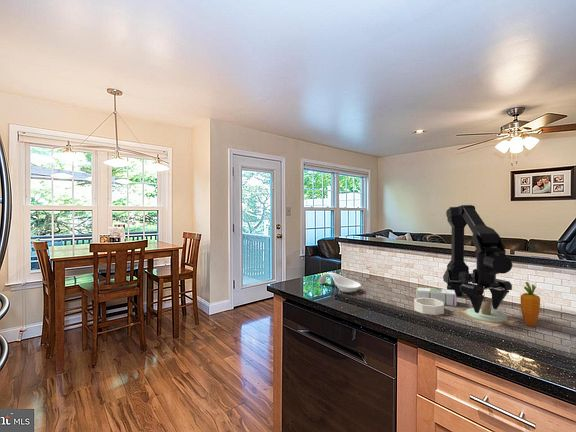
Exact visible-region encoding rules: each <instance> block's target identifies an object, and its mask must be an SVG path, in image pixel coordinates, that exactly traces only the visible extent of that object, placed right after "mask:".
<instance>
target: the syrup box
mask: <svg viewBox="0 0 576 432" xmlns="http://www.w3.org/2000/svg"><path fill="white" fill-rule="evenodd" d="M415 295H416V297H415V299H416V298H433V299H437V300H439V301H442V302H443V304H444V306H453V307H456V306H457V299H458V298H457V296H456V294H455V291H454V290H447V288H445V289H443V288H433V287H432V288H431V287H421V286H420V287H419V286H416V293H415Z"/></svg>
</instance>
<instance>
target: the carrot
mask: <svg viewBox="0 0 576 432" xmlns="http://www.w3.org/2000/svg"><path fill="white" fill-rule="evenodd" d="M525 285H526V286H523V288H524V290H525V291H526V292H524V293H522V294H521V295H520V311H521V315H522V318H523V321H524V323H525V325H526V326H528V327H530V328H533V327H534V326H535V324H536V323H537V321H538V319H539V315H540V312H541V309H540V308H541V298H540V296H539V295H537V294H535V290H536V288H537V286H536V285H535V284H530V283H529V282H528V281H526V282H525Z"/></svg>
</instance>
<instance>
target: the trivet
mask: <svg viewBox="0 0 576 432" xmlns="http://www.w3.org/2000/svg"><path fill="white" fill-rule="evenodd" d="M466 310H467V309H466ZM466 310H460V311H455V312H454V314H457V315H459V316H462V317H464V318H466V319H467V318H468V319H470V320H472V321H475V322H477V323H480V324H483V325H485V326H489V327H491V328H495V327H499V326H503V325H507V324H512V323H516V322H520V321H521V319H518V318H515V317H512V316H509V315H506V316H507V321H506V322H503V323H490V322H484V321H479V320H476V319H473V318H471V317H469V316H468V315H467V314H466Z"/></svg>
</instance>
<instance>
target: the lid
mask: <svg viewBox="0 0 576 432" xmlns="http://www.w3.org/2000/svg"><path fill="white" fill-rule="evenodd" d="M466 314H467V315H468V316H469V317H471V318H473V319H476V320H479V321H484V322H490V323H503V322H506V321H507V316H508V315H507V314H505V313H503V312H501V311H498V310H496V309H492V302H490V301H485V300H483V301H482V305H481V308H480V311H479V313H476V312H475V311H474V308H473V307H469V308H467V309H466Z"/></svg>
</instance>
